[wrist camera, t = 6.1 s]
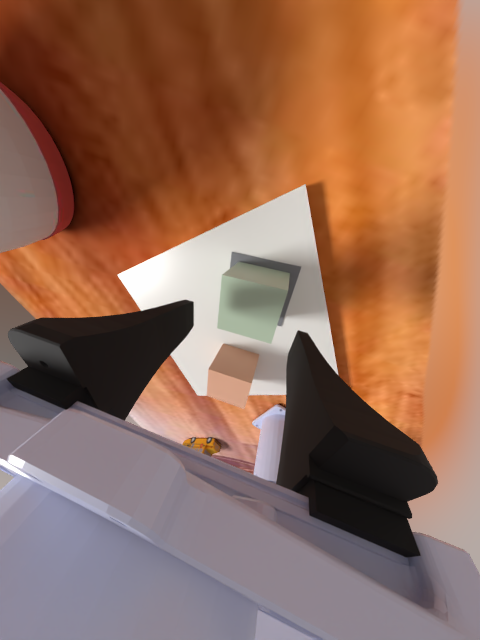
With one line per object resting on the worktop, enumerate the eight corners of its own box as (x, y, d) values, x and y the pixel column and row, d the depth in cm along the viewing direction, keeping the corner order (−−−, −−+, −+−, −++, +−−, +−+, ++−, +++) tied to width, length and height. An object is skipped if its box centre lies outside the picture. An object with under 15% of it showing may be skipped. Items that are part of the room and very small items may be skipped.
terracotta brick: (259, 354, 21) (251, 383, 17) (252, 379, 24) (244, 409, 20) (223, 343, 22) (208, 369, 18) (220, 368, 24) (206, 395, 21)
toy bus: (222, 444, 39) (216, 464, 36) (193, 443, 44) (185, 461, 41) (215, 436, 38) (208, 455, 35) (185, 436, 43) (177, 453, 40)
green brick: (289, 273, 15) (288, 290, 12) (276, 317, 18) (271, 343, 14) (238, 261, 16) (221, 274, 12) (232, 306, 19) (217, 328, 15)
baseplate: (339, 387, 22) (341, 394, 21) (200, 390, 30) (197, 396, 29) (304, 186, 13) (305, 183, 12) (124, 272, 22) (116, 275, 21)
